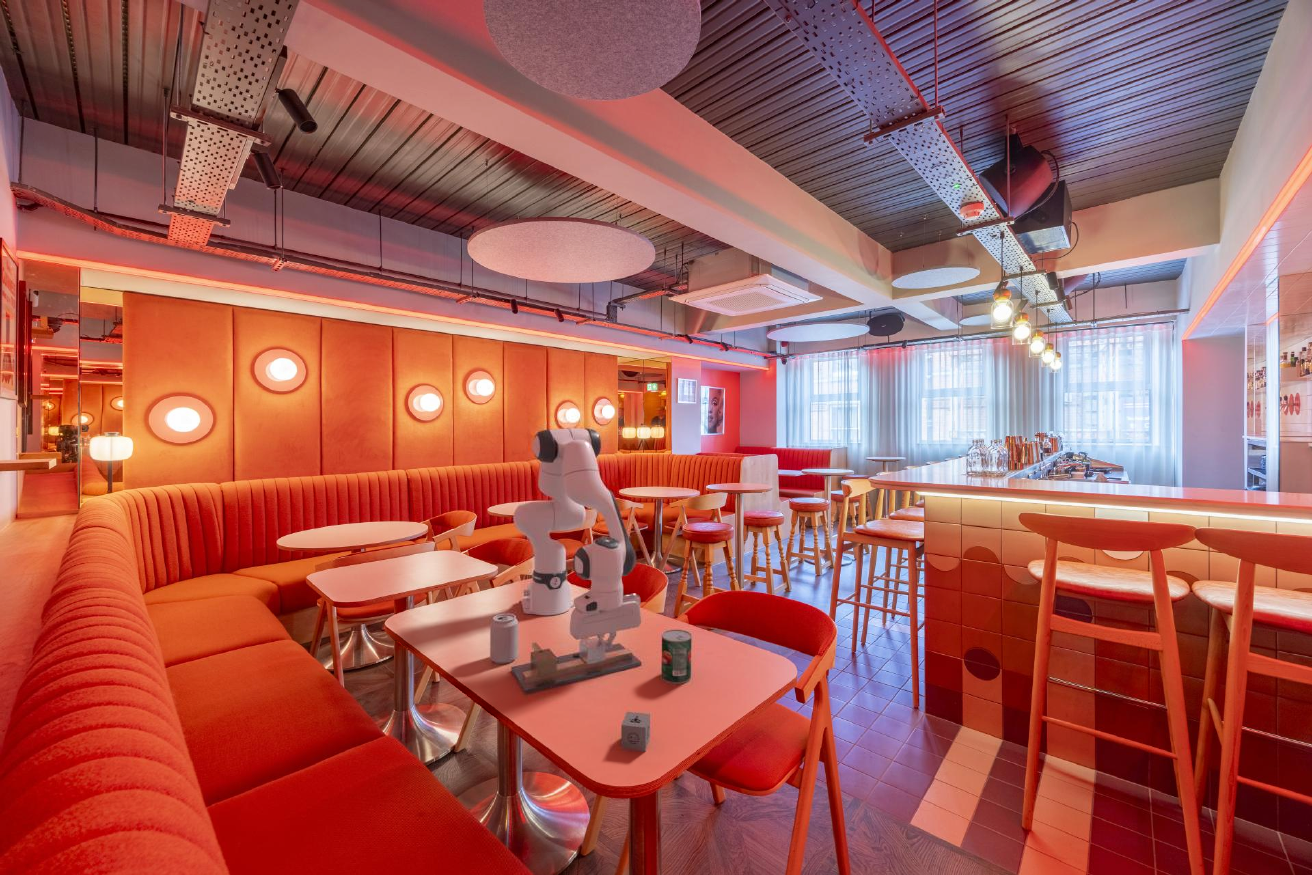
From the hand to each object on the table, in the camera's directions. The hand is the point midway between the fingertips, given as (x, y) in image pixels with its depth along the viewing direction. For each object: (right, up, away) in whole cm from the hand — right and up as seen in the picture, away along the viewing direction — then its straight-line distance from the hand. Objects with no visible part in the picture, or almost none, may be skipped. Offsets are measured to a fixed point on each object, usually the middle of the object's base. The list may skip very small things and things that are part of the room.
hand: (606, 648), depth 141 cm
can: (-29, -5, +3) cm, 30 cm away
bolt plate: (-8, -5, -2) cm, 9 cm away
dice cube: (+10, -5, -35) cm, 37 cm away
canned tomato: (+19, -5, -6) cm, 21 cm away
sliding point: (-5, -3, 0) cm, 6 cm away
